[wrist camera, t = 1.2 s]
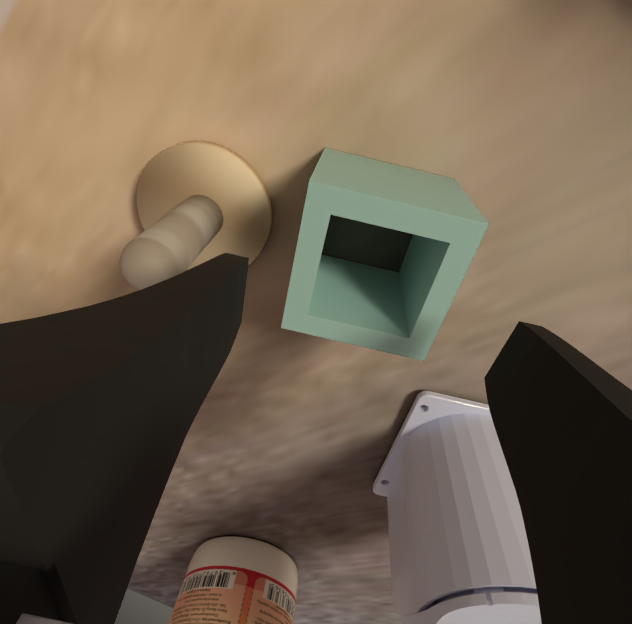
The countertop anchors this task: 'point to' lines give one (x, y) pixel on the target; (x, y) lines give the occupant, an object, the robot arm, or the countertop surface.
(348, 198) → the green hollow cube
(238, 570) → the fruit juice
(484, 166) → the countertop surface
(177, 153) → the spindle
